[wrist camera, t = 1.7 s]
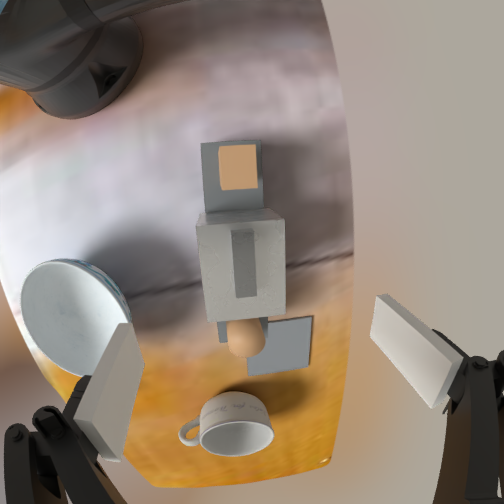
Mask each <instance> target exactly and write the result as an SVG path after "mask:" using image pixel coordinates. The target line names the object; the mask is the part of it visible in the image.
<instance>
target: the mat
mask: <svg viewBox="0 0 504 504" xmlns="http://www.w3.org/2000/svg"><path fill="white" fill-rule="evenodd" d="M311 321H312V317H311V316H306V317H300V318H293V319H285V320H278V321H270V322H268V338H265V340H266V343H265V347H264V348H263V350H262V351H261V352H260V353H259V354H257V355H255V356H253V357H248V358H247V365H248V376H254V375H262V374H269V373H276V372H283V371H289V370H295V369H300V368H306V367H308V362H309V350H310V336H311Z"/></svg>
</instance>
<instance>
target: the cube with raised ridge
mask: <svg viewBox="0 0 504 504" xmlns="http://www.w3.org/2000/svg"><path fill="white" fill-rule="evenodd" d="M196 232H197V242H198V251H199V260H200V268H201V277H202V285H203V292H204V300H205V307H206V314H207V321H208V322H220V321H230V320H240V319H250V318H259V317H267V316H275V315H283V314H286V276H285V219H283V218H282V217H281V216H279V215H278V214H277V213H275V212H274V211H273V210H271V209H270V208H261V209H246V210H233V211H220V212H208V213H200V215H199V218H198V221H197V225H196Z"/></svg>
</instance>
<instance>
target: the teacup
mask: <svg viewBox="0 0 504 504" xmlns="http://www.w3.org/2000/svg"><path fill="white" fill-rule="evenodd" d="M198 425H200V430H199V431H198V434H197V436H196V437H195V438H193V439H187V438H186V433H187V432H188V431H189V430H190V429H192V428H194V427H196V426H198ZM179 438H180V440H181V442H182V443H183V444H185V445H187V446H195V445H198V444H199V443H201V445H202V447H203V448H204V449H205V450H207V451H209V452H210V453H213V454H216V455H221V456H243V455H248V454H252V453H255V452H258V451H260V450H262V449H264V448H265V447H267V446H268V445H269V444H270V443H271V442H272V440H273V438H274V431H273V429H272V427H271V423H270V419H269V416H268V413H267V410H266V408H265V406H264V404H263V403H262V402H261V400H259V399H258V398H257V397H255V396H253V395H251V394H248V393H243V392H237V391H231V392H225V393H221V394H219V395H217V396H215V397H213V398H211V399H210V400H208V401H207V402H206V403H205V404H204V406H203V407H202V410H201V414H200V415H198V416H197V418H196V419H194V420H192V421H190V422H188V423H186V424H185V425H184V426H182V428H181V429H180V430H179Z"/></svg>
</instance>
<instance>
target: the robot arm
mask: <svg viewBox="0 0 504 504" xmlns="http://www.w3.org/2000/svg"><path fill="white" fill-rule="evenodd" d="M184 1H189V0H0V84H3V85H7V86H10V87H14V88H18V89H21V90H24V91H26V92H27V94H28V95H29V96H31V97H32V98H33V100H34V102H35V103H36V105H37V106H38V107H39V108H40V109H41V110H42V111H43V112H45V113H47V114H49V115H51V116H54V117H58V118H62V119H78V118H82V117H86V116H88V115H91V114H93V113H95V112H97V111H99V110H101V109H102V108H104V107H105V106H107V105H108V104H109V103H111V102H112V101H113V100H114V99H115V98H116V97H117V96H118V95H119V94H120V93H121V92H122V91H123V90H124V89H125V88H126V86H127V85H128V84H129V82H130V81H131V79H132V78H133V76H134V74H135V72H136V70H137V68H138V66H139V63H140V60H141V57H142V51H143V40H142V36H141V33H140V30H139V29H138V27H137V25H136V23H135V22H134V20H133V19H132V18H131V17H130V16H132V15H135V14H138V13H141V12H144V11H147V10H151V9H154V8H158V7H162V6H166V5H170V4H174V3H179V2H184ZM370 337H371V338H372V340H373V341H374V342H375V343H376V344H377V345H378V346H379V347H380V349H381V350H382V351H383V352H384V353H385V355H386V356H387V357H388V358H389V359H390V360H391V361H392V363H393V364H394V365H395V366H396V367H397V369H398V370H399V371H400V372H401V373H402V374H403V376H404V377H405V378H406V379H407V380H408V382H409V383H410V384H411V385H412V386H413V388H414V389H415V390H416V391H417V393H418V394H419V395H420V396H421V397H422V399H423V400H424V401H425V402H426V403H427V405H428V406H429V407H430V408H431V409H432V408H434V407H435V406H437V405H439V404H441V403H442V402H443V401H444V399H445V397H446V395H447V394H448V395H449V396H450V397H451V398H450V399H449V401H448V403H447V405H446V407H445V409H444V411H443V414H445V412H446V410H447V409H448V413H447V427H446V436H445V444H444V452H443V458H442V464H441V469H440V474H439V479H438V484H437V488H436V492H435V497H434V500H433V504H504V395H503V393H502V392H503V391H504V350H503V351H501V352H500V353H499V355H498V357H497V360H494V361H488V360H486V359H485V358H483V357H480V356H473V357H471V358H470V357H469V356H468V355H467V354H466V353H465V352H463V351H462V350H461V349H460V348H459V347H458V346H456V345H455V344H454V343H453V342H452V341H451V340H449V339H448V338H447V337H446V336H445V335H443V334H442V333H441V332H438V331H436V330H434V329H432V330H431V329H430V328H429V327H428V326H426V325H425V324H424V323H423V322H421V321H420V320H419V319H418V318H417V317H415V316H414V315H413V314H412V313H411V312H409V311H408V310H407V309H406V308H405V307H403V306H402V305H401V304H400V303H398V302H397V301H396V300H395V299H393V298H392V297H391V296H390V295H388V294H383V295H378V296H376V303H375V309H374V316H373V321H372V327H371V332H370ZM144 366H145V363H144V360H143V357H142V354H141V351H140V348H139V345H138V341H137V338H136V335H135V331H134V328H133V324H132V323H119V324H118V326H117V328H116V329H115V331H114V333H113V335H112V337H111V339H110V341H109V343H108V345H107V347H106V349H105V351H104V353H103V355H102V357H101V359H100V361H99V363H98V365H97V367H96V369H95V371H94V373H93V375H84V376H83V377H82V378H81V379H80V380H79V381H78V382H77V384H76V386H75V388H74V392H72V394H71V396H70V397H71V398H69V400H68V402H67V404H66V406H65V409H64V411H63V413H62V414H61V412H60V411H59V410H58V408H56V407H54V406H45V407H42V408H40V409H38V410H37V411H36V412H35V413H34V415H33V418H32V423H33V425H34V426H35V428H36V429H37V430H38V432H29V430H28V429H27V428H26V427H25V425H23V424H19V423H17V424H13V425H11V426H10V427H9V428H8V429H7V430H6V433H5V439H4V479H5V493H6V502H7V504H68V500H67V497H66V492H67V494H68V496H69V498H70V500H71V501H72V503H73V504H127V503H126V501H125V500H124V499H123V497H122V496H121V495H120V493H119V492H118V490H117V489H116V488H115V486H114V485H113V483H112V482H111V481H110V479H109V478H108V476H107V474H106V473H105V472H104V470H103V468H102V467H101V465H100V463H99V462H98V461H97V456H98V453H99V454H100V455H101V457H102V458H103V459H104V460H109V461H115V462H121V460H122V455H123V450H124V445H125V441H126V436H127V432H128V427H129V423H130V419H131V415H132V411H133V407H134V403H135V399H136V395H137V391H138V387H139V384H140V380H141V376H142V373H143V369H144ZM498 478H499V479H500V487H501V495H502V498H500V497H498V496H497V490H498ZM65 490H66V492H65Z"/></svg>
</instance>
